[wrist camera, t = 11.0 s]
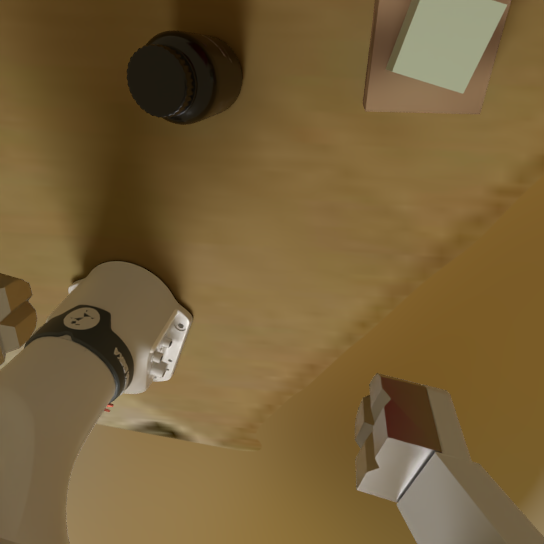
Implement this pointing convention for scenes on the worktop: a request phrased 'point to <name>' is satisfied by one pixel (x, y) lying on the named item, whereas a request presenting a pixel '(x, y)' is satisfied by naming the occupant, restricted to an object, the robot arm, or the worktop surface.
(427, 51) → the sage block
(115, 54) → the worktop surface
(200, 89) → the supplement bottle
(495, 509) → the robot arm
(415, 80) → the pinkish brown block
